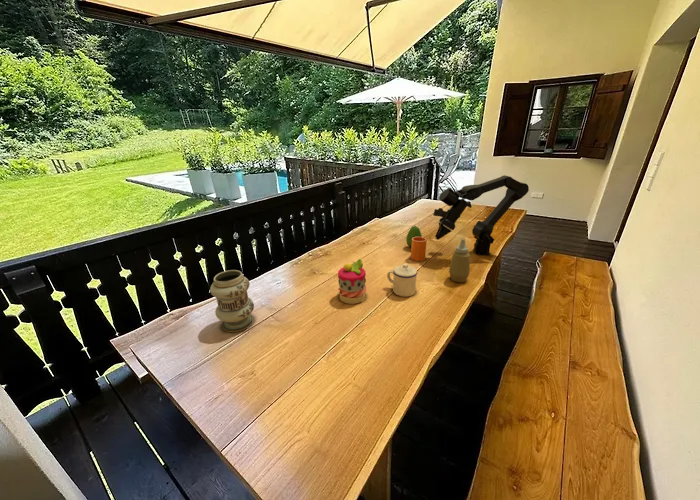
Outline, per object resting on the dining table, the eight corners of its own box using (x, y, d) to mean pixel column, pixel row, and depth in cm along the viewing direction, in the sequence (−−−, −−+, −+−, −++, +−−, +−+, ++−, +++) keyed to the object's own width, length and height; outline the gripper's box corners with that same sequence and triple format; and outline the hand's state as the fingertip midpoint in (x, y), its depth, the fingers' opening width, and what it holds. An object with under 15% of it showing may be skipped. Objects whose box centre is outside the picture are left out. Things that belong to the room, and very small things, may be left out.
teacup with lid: (419, 289, 119) (421, 262, 114) (409, 299, 112) (411, 271, 107) (392, 281, 125) (393, 256, 121) (381, 290, 118) (382, 264, 114)
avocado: (414, 251, 154) (416, 229, 150) (403, 247, 160) (404, 226, 155) (424, 247, 159) (425, 225, 155) (412, 243, 165) (413, 222, 160)
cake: (346, 307, 108) (345, 269, 102) (334, 293, 117) (332, 258, 111) (371, 299, 113) (371, 263, 107) (357, 287, 121) (357, 253, 116)
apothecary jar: (227, 312, 107) (217, 267, 100) (261, 312, 106) (253, 266, 99) (212, 334, 95) (200, 284, 89) (249, 334, 95) (240, 284, 88)
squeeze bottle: (469, 284, 121) (476, 243, 114) (449, 283, 123) (453, 242, 116) (466, 275, 128) (472, 236, 122) (447, 274, 130) (451, 235, 123)
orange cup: (426, 256, 148) (427, 237, 144) (423, 261, 142) (425, 242, 139) (412, 254, 151) (413, 236, 147) (409, 260, 145) (410, 240, 141)
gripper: (440, 201, 150) (421, 227, 154) (442, 201, 132) (422, 230, 136) (459, 213, 149) (440, 239, 153) (464, 215, 131) (443, 244, 135)
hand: (436, 238), depth 144 cm, fingers open, 9 cm apart
